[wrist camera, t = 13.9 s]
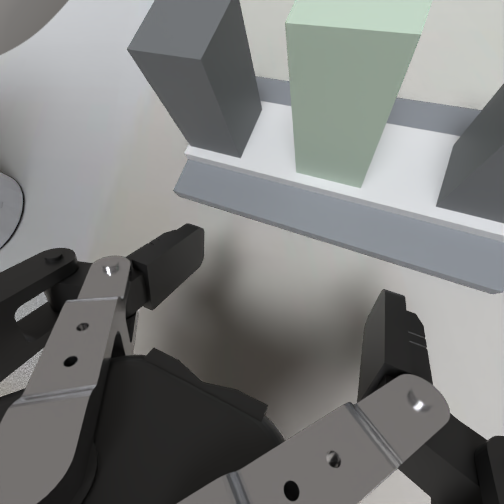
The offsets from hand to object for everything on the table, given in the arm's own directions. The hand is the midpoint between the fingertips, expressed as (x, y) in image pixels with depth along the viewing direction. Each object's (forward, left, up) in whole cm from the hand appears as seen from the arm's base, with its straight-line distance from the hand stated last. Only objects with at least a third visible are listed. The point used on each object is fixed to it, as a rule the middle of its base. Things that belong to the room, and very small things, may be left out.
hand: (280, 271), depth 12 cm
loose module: (0, +10, -6) cm, 12 cm away
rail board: (0, +10, -7) cm, 13 cm away
